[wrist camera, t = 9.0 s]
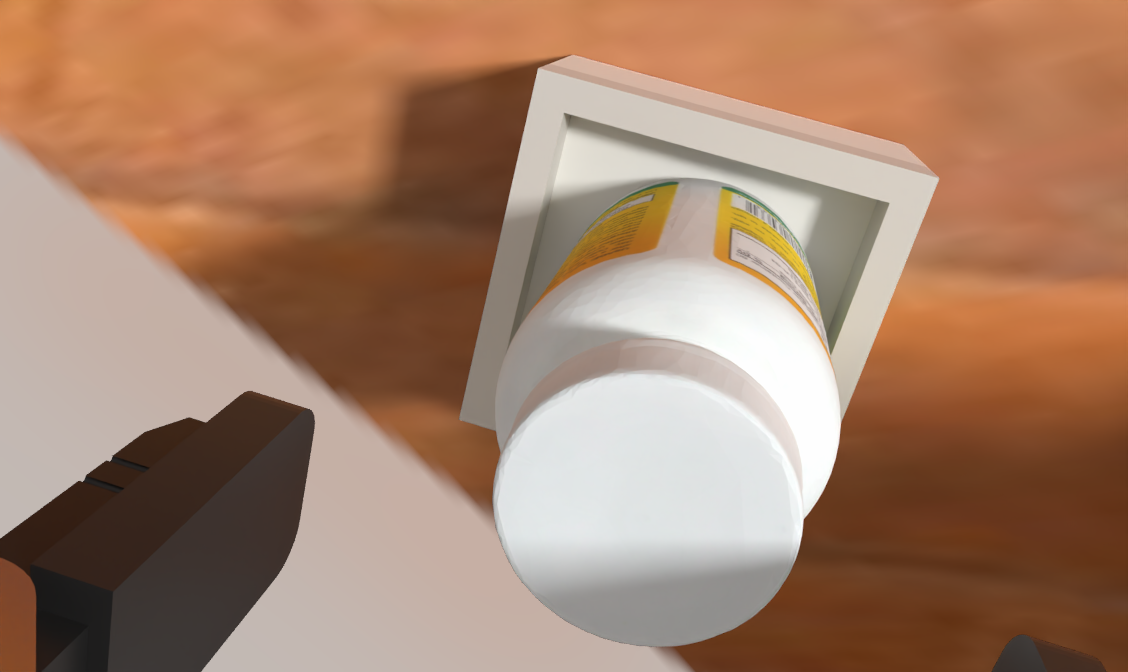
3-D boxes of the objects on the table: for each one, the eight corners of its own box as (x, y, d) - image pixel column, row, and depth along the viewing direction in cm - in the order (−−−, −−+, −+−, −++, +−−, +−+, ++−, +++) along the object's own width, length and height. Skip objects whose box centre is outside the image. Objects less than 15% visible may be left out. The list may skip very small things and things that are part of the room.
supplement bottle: (832, 189, 19) (914, 355, 11) (788, 422, 21) (824, 727, 12) (577, 158, 20) (451, 290, 11) (555, 386, 22) (434, 652, 13)
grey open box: (903, 144, 22) (939, 178, 18) (790, 439, 25) (800, 524, 21) (572, 54, 22) (538, 67, 18) (502, 353, 25) (458, 419, 21)
